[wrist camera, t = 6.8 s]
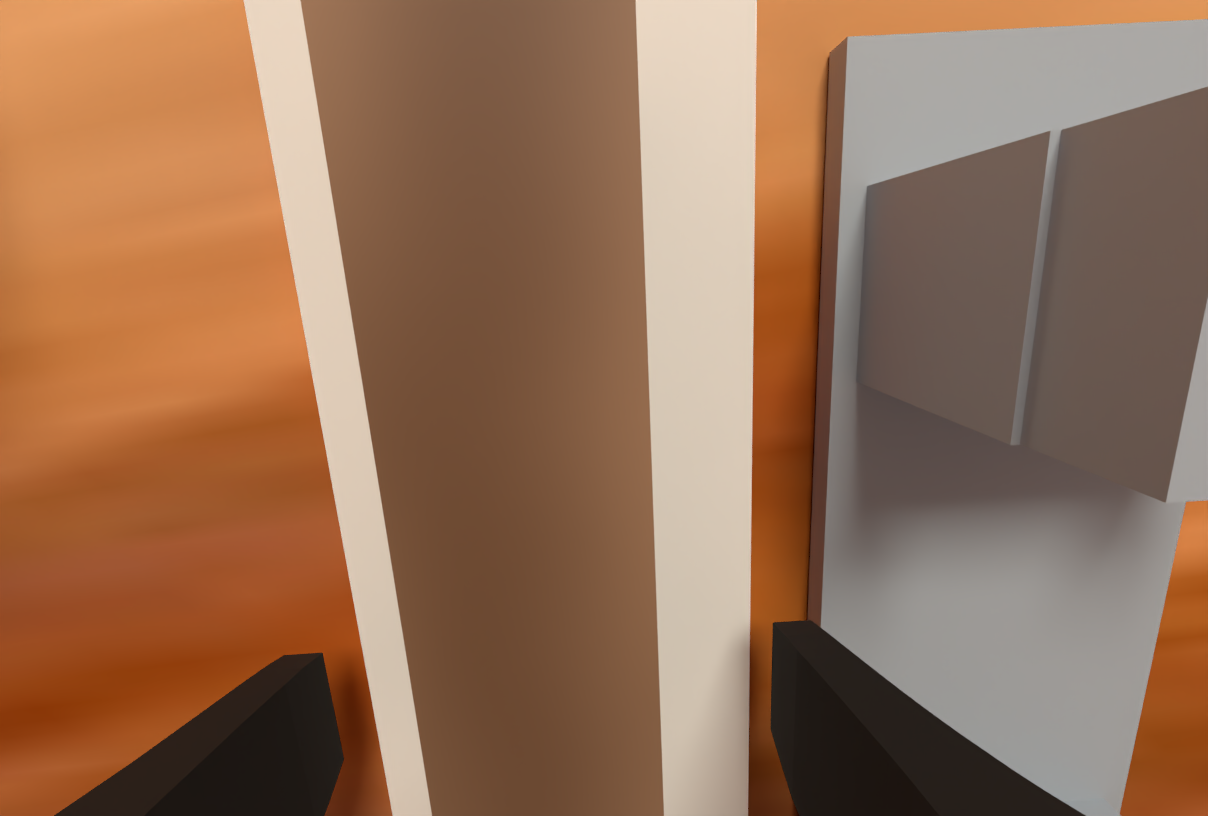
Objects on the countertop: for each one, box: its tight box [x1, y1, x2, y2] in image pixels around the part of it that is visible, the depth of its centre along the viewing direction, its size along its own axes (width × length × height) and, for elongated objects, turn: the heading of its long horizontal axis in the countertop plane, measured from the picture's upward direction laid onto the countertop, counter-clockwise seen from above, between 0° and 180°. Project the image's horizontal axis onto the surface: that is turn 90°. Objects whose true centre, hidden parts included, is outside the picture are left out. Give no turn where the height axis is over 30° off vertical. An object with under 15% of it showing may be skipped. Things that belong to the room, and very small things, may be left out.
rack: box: [808, 19, 1208, 816], centre depth 8 cm, size 6×19×6 cm, turn 3°
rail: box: [300, 0, 664, 816], centre depth 9 cm, size 3×18×3 cm, turn 3°
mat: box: [244, 0, 757, 816], centre depth 10 cm, size 7×22×1 cm, turn 3°
